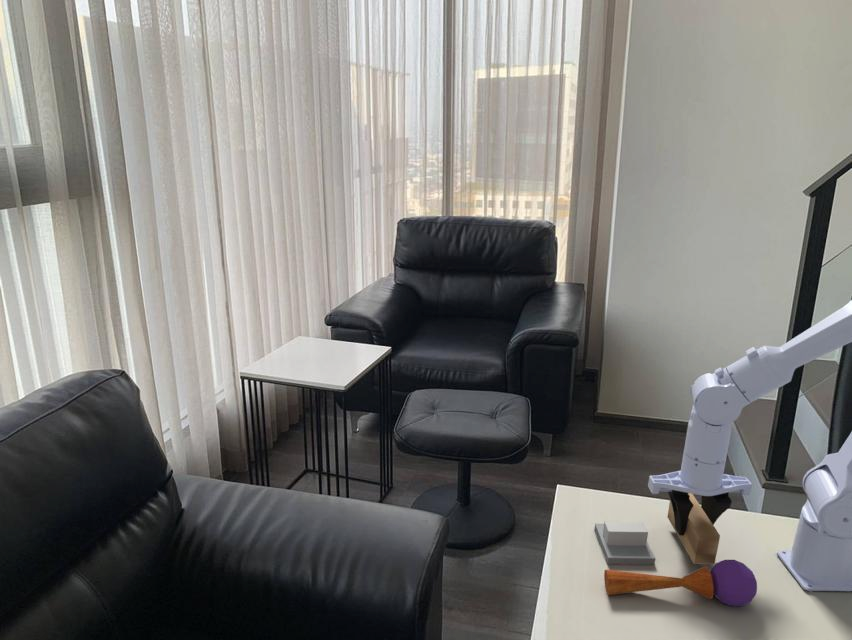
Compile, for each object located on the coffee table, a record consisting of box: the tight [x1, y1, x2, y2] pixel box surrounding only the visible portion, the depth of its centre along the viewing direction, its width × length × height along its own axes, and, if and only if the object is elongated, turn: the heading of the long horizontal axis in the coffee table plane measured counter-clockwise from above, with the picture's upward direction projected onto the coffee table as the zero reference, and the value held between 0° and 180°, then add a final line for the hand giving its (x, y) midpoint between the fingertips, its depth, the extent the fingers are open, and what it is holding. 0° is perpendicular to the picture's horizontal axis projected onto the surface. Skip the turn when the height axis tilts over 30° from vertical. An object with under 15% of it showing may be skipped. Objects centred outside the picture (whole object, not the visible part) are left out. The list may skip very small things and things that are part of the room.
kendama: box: [603, 559, 758, 607], centre depth 88 cm, size 6×6×20 cm
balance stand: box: [593, 521, 656, 566], centre depth 98 cm, size 7×8×4 cm
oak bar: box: [667, 493, 721, 565], centre depth 97 cm, size 3×11×5 cm, turn 0°
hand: (691, 531), depth 97 cm, fingers closed on oak bar, 3 cm apart
